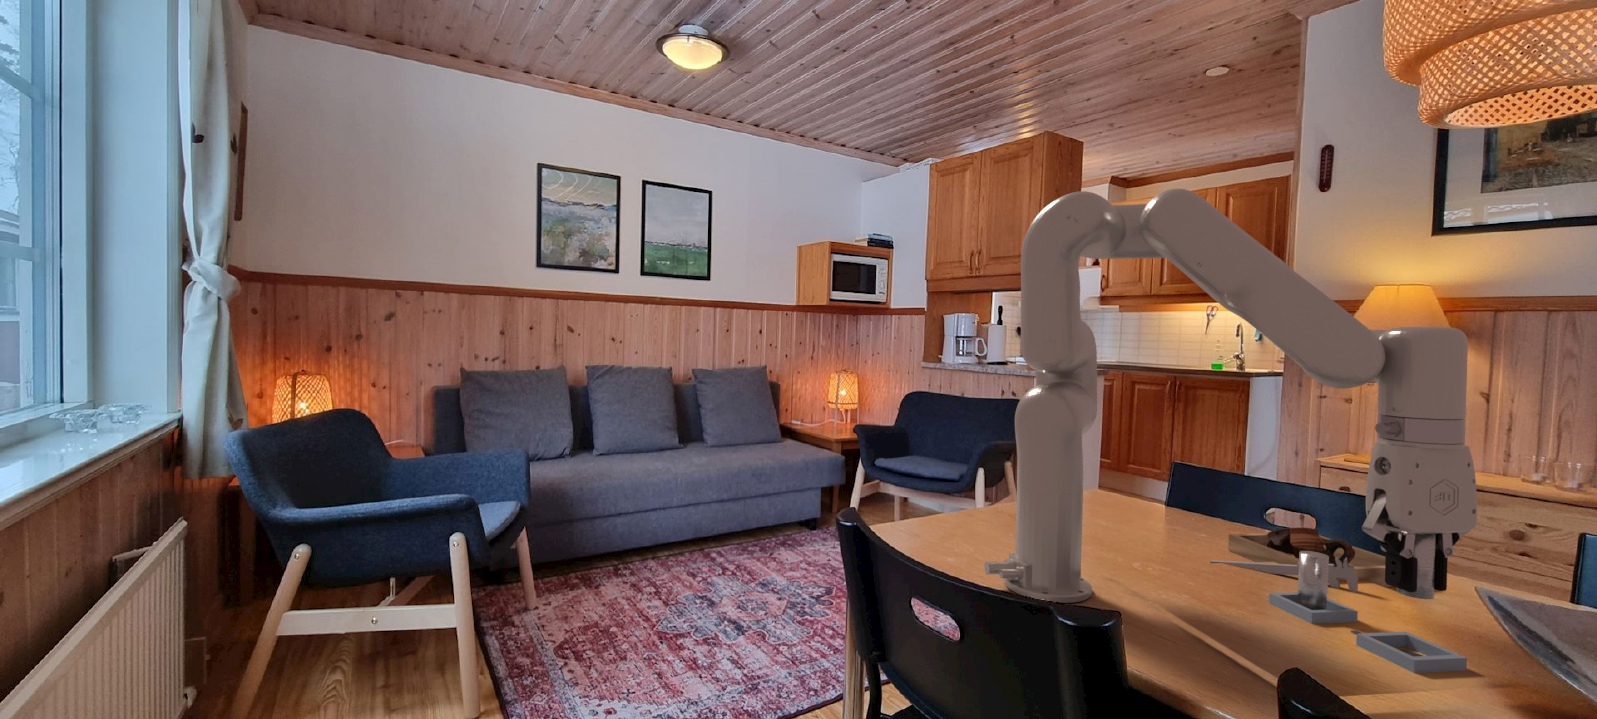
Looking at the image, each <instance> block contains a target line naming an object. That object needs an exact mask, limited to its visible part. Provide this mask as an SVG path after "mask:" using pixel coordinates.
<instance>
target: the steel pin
mask: <svg viewBox="0 0 1597 719" xmlns="http://www.w3.org/2000/svg"><path fill="white" fill-rule="evenodd" d="M1397 534H1398V536H1397V537H1398V539H1399V540H1400V541H1401V535H1402V534H1399V533H1397ZM1435 546H1436V533H1425V534H1415V542H1414V550H1413V555H1412V557H1413V558H1416V559H1417V561H1418V568H1417V590H1416V592H1407V591H1404V590H1402V589H1399V588H1396V592H1397V593H1399V594H1401V595H1404V596H1407V597H1410V598H1414V599H1420V600H1421V599H1422V600H1434V599H1435V589H1434V578H1435Z"/></svg>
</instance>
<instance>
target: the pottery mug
mask: <svg viewBox="0 0 1597 719" xmlns="http://www.w3.org/2000/svg"><path fill="white" fill-rule="evenodd" d="M1319 535H1320V533H1319V531H1318V530H1317V529H1316V528H1312V527H1287V528H1285V527H1284V528H1279V529H1274V530H1270V531H1269V532H1268V534H1267V536H1268V538H1269V540H1268V542H1267V544H1266V547H1269V548H1272V549H1274V550H1277V551H1280V552H1282V553H1285V554H1287V555H1293V557H1295V558H1298V559H1299V552H1300V551H1313V552H1318V553H1322V554H1325V555H1327V556H1329V564H1334V565H1335V567H1337V564H1336V561H1335V556H1334V555H1333V554H1334V552H1335V551H1336V550H1337V549H1338V548H1342V549H1343V550H1344V554H1343V555H1342V556H1341V557H1340V558H1339V560H1340V561H1341V562H1342V564H1343V562H1344V560H1345V558H1347V560H1348V564H1349V563H1350V562H1351V561H1352V559H1353V558H1354V556H1355V551H1354V550H1353V548H1352V546H1353V545H1352V544H1351V543H1350V542H1349V541H1347V540H1344V539H1339V538H1333V539H1332V538H1330V539H1331V540H1327V539H1323V538H1321V537H1319ZM1289 536H1290V537H1289ZM1323 545H1325V546H1326V550H1325V548H1324V546H1323ZM1349 565H1350V564H1349Z"/></svg>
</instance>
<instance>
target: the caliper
mask: <svg viewBox="0 0 1597 719" xmlns="http://www.w3.org/2000/svg"><path fill="white" fill-rule="evenodd" d="M1335 561H1336V564H1337V567H1335V565H1334V564H1329V567H1328V586H1330V588H1335V589H1338V590H1339V589H1340V588H1341V584H1340V580H1338V579H1337V578H1346V580H1345V581H1346V583H1347V586H1348V590H1349V591H1350V592H1354V593H1358V592H1359V589H1358V588H1359V580H1358V578H1357V574H1356V571H1355V568H1354V567H1355V566H1354V565H1351V564H1348V560H1347V558H1345V560H1344V562H1343V564H1342V562H1341V561H1340V560H1339V559H1338V558H1337V557H1336V558H1335ZM1209 564H1225V565H1229V566H1233V567H1238V568H1243V569H1248V570H1253V571H1258V572H1261V573H1267V574H1270V575H1271V574H1272V575H1273V574H1274V575H1283V576H1284V575H1285V576H1299V563H1298V564H1297V565H1289V564H1278V563H1273V562H1272V563H1271V562H1255V561H1251V562H1250V561H1238V560H1237V561H1236V560H1235V561H1233V560H1232V561H1231V560H1219V559H1218V560H1217V559H1216V560H1214V559H1211V560H1210V562H1209Z"/></svg>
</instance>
